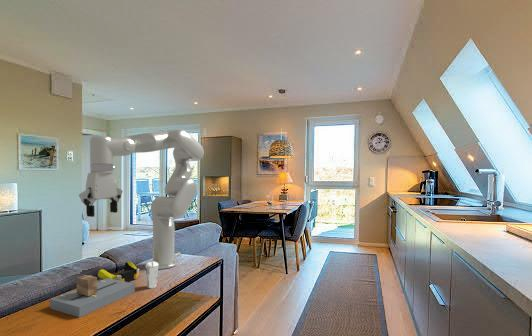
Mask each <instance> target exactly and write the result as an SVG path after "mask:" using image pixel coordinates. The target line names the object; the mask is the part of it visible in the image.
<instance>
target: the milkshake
mask: <svg viewBox="0 0 532 336" xmlns="http://www.w3.org/2000/svg"><path fill="white" fill-rule="evenodd" d="M152 261H153V260H152ZM152 261H148V262H147V263H146V264H145V274H146V284H147V285H146V287H147V289H155V288H156V287H157V285H158V284H157V283H158V272H159V269H158V265H159V264H158V263H157V262H154V261H153V262H152Z"/></svg>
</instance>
